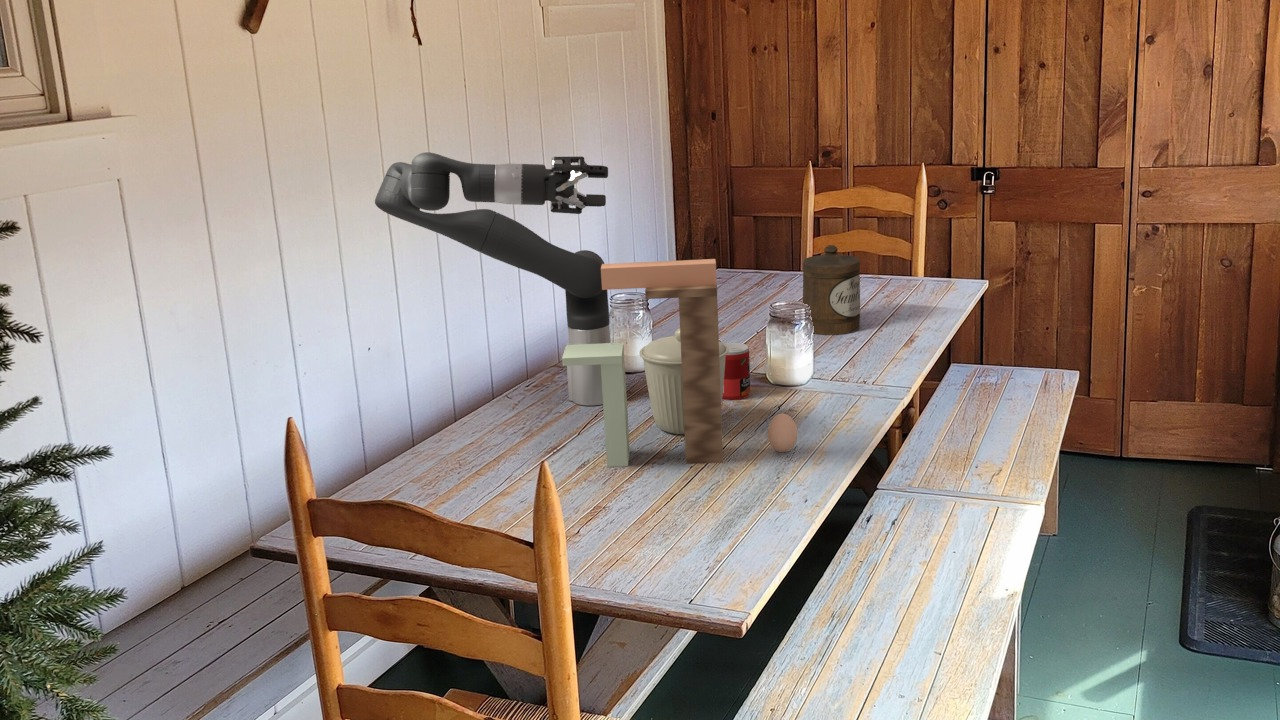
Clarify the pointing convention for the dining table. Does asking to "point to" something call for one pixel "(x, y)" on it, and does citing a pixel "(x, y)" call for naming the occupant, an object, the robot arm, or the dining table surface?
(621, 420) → the sage ledge
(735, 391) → the canned food
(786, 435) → the egg
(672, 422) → the canister
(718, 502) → the dining table surface
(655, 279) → the peach rectangular bar
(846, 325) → the wooden container
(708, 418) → the walnut stand
